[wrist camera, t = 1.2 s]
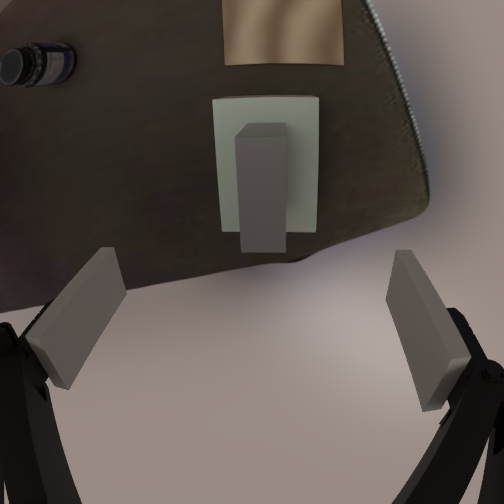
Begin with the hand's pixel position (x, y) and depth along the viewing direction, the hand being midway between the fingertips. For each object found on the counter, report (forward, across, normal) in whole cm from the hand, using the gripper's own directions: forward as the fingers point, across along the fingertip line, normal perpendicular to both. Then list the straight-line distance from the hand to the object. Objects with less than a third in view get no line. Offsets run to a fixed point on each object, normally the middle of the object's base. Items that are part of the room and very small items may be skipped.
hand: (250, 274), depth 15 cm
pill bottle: (+28, -29, +16) cm, 44 cm away
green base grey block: (+20, 0, 0) cm, 20 cm away
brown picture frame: (+28, +2, +20) cm, 35 cm away
